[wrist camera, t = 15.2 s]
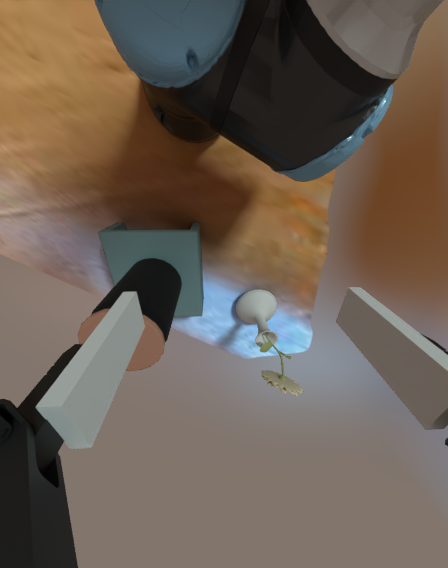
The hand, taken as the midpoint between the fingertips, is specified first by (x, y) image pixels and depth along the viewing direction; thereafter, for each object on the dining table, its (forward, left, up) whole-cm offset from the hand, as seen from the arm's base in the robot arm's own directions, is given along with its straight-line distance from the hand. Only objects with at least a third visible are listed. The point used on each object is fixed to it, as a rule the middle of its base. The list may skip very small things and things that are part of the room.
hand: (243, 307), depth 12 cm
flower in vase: (+25, +10, -35) cm, 44 cm away
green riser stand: (+12, -14, -35) cm, 39 cm away
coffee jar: (+12, -14, -27) cm, 33 cm away
